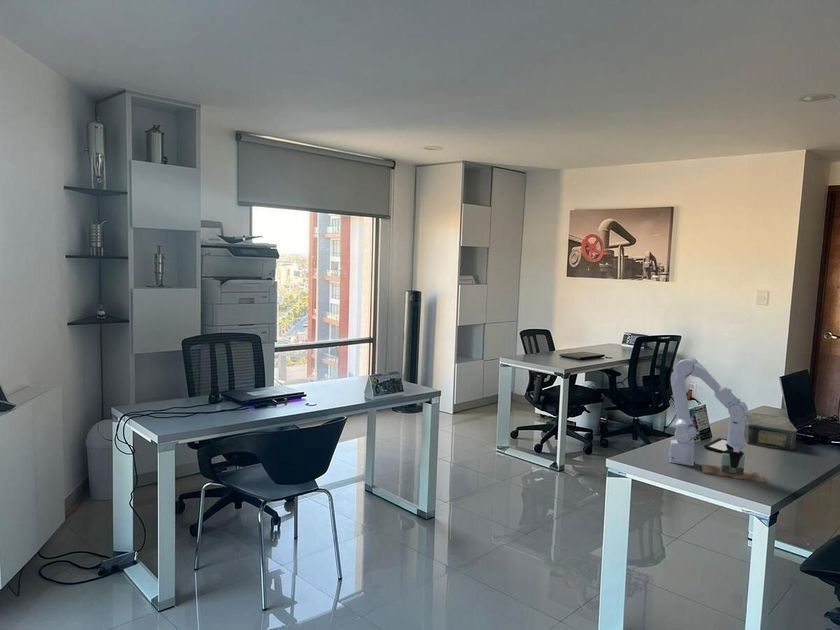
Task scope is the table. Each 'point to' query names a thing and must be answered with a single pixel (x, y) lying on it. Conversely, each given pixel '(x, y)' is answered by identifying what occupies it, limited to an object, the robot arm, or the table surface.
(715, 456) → the table surface
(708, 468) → the rail
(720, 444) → the decorative sign
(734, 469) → the door panel
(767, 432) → the metal box
